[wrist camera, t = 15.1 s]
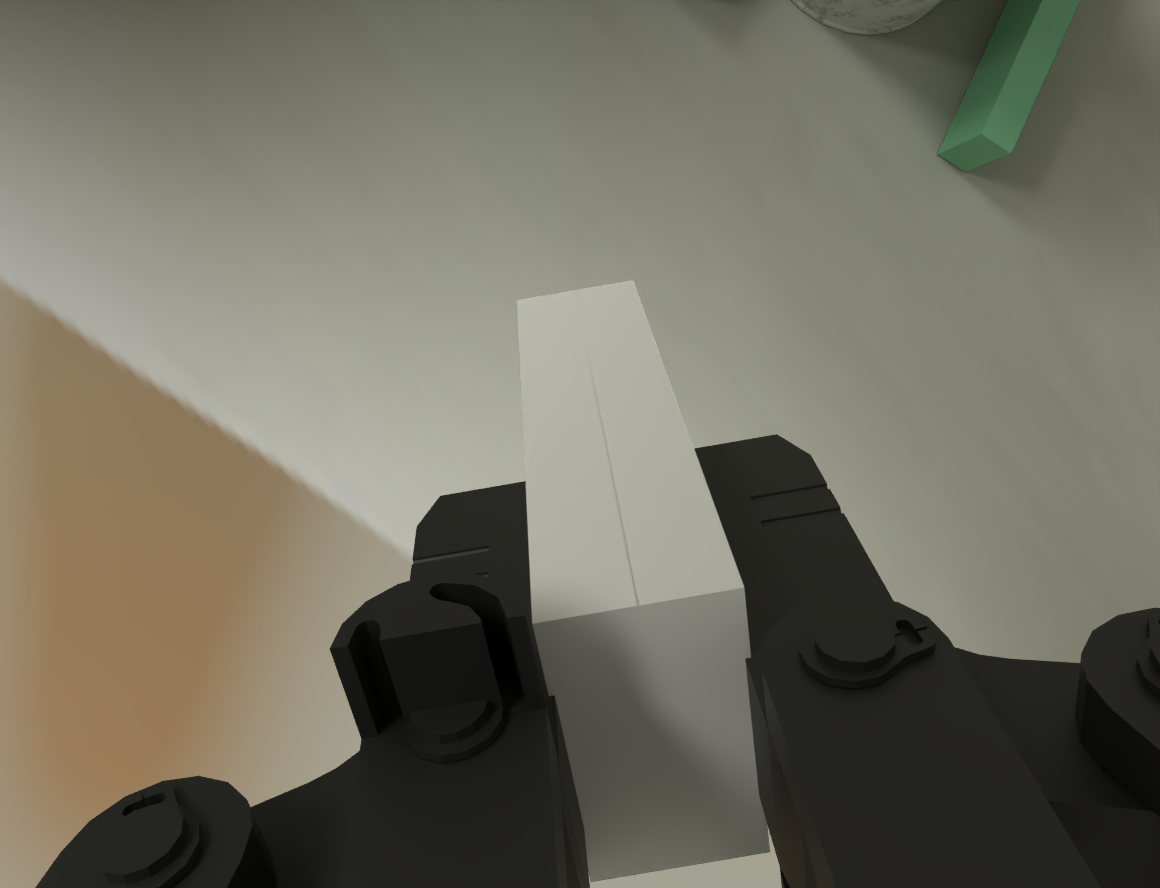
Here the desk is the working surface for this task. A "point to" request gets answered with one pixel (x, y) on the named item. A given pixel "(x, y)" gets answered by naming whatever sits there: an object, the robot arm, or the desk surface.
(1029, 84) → the green angular frame
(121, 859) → the robot arm
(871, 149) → the desk surface
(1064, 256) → the desk surface
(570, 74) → the desk surface
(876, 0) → the speckled concrete drum
